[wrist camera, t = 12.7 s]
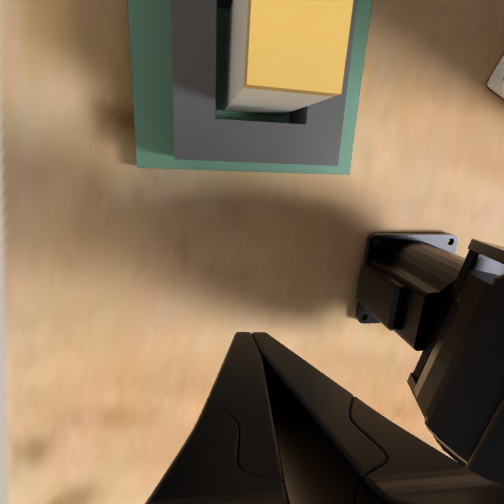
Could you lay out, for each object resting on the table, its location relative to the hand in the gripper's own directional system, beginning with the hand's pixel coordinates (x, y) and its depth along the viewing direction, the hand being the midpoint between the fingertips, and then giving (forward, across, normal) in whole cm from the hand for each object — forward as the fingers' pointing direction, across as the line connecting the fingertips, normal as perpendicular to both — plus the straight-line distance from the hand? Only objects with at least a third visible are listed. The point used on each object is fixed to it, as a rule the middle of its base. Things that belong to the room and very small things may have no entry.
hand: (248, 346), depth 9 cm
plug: (+11, -1, -9) cm, 14 cm away
